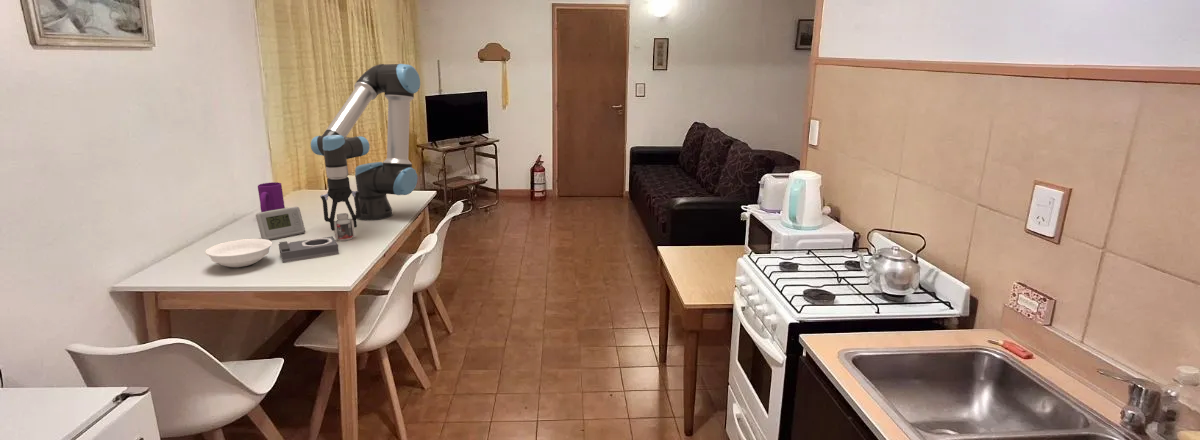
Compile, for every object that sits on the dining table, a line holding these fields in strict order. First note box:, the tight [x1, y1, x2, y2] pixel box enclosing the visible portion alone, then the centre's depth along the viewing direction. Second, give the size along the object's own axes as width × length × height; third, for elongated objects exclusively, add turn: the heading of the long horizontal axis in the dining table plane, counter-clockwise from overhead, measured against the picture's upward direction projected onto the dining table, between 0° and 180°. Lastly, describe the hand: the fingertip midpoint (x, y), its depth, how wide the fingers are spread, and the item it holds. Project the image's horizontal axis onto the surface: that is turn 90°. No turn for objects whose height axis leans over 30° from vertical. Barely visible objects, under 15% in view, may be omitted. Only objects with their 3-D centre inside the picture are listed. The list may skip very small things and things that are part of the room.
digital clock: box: [255, 206, 306, 241], centre depth 247 cm, size 16×9×11 cm, turn 122°
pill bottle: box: [335, 212, 354, 242], centre depth 242 cm, size 5×5×10 cm
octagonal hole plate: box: [278, 236, 340, 263], centre depth 226 cm, size 18×12×4 cm, turn 120°
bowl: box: [204, 238, 273, 268], centre depth 215 cm, size 20×20×6 cm
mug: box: [257, 182, 286, 212], centre depth 271 cm, size 9×16×15 cm, turn 8°
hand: (345, 237), depth 243 cm, fingers closed on pill bottle, 5 cm apart
